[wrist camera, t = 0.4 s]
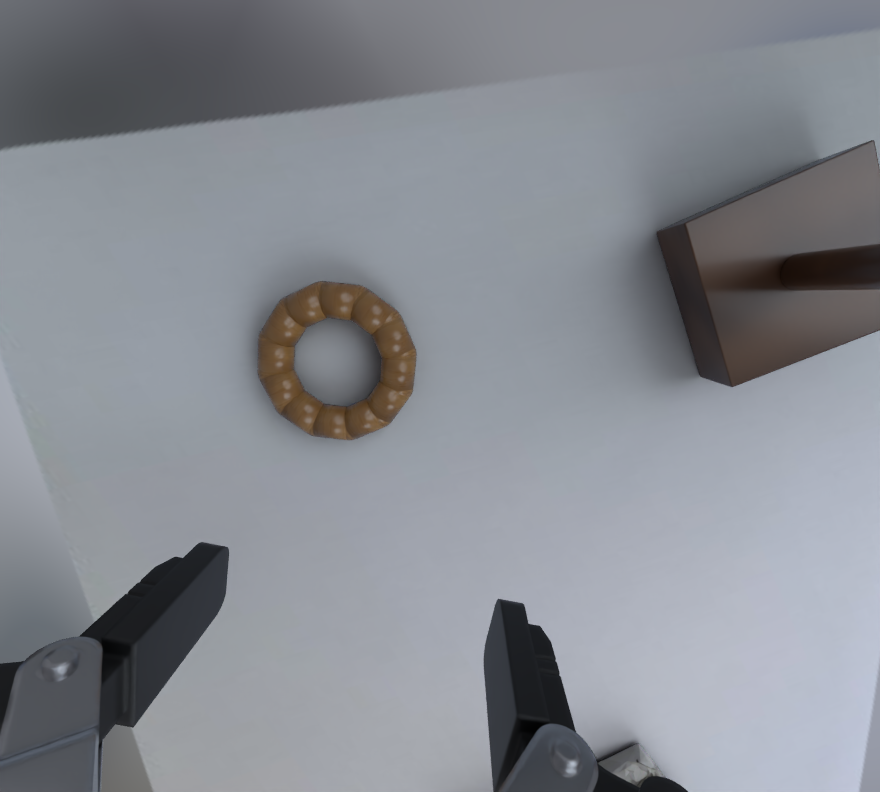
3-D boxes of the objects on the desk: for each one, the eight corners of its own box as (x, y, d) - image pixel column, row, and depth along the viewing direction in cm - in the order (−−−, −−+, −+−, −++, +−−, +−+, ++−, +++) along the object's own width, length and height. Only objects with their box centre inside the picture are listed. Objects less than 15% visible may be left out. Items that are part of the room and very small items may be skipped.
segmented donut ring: (239, 321, 25) (222, 323, 24) (376, 257, 24) (370, 253, 22) (310, 453, 27) (299, 466, 25) (440, 399, 26) (439, 407, 24)
